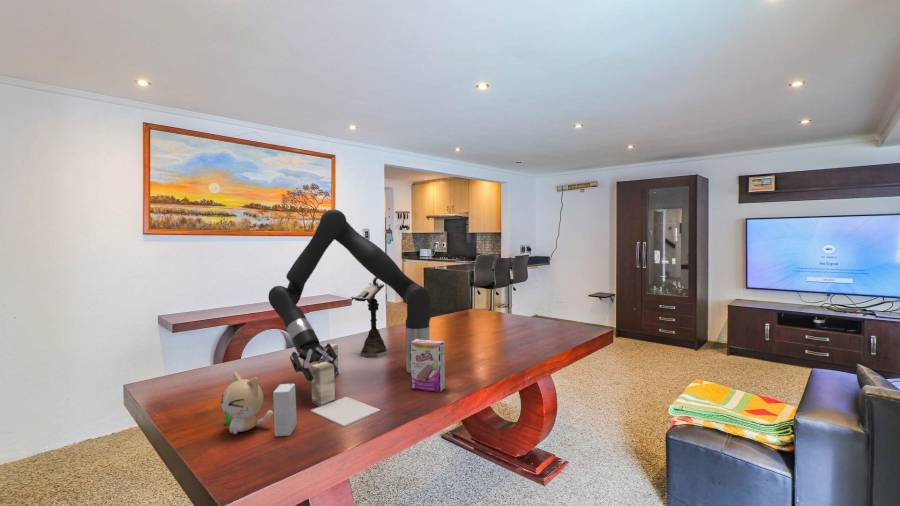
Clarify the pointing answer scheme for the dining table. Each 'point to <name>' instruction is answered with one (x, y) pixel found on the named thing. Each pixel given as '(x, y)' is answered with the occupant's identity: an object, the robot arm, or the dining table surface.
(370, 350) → the book lectern
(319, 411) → the mat
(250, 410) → the kitten
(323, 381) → the birch block
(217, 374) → the dining table surface
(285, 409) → the skincare box
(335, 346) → the ink box
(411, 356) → the candy bar box
